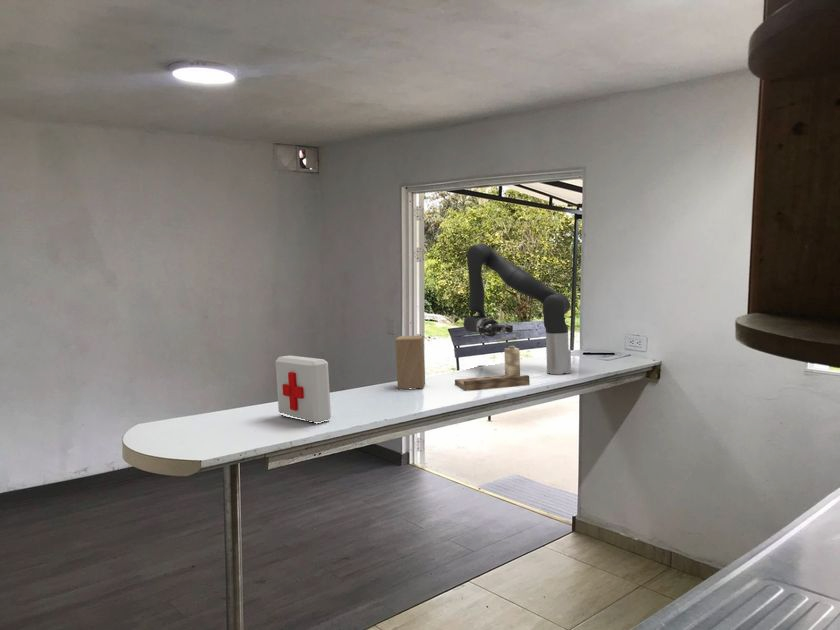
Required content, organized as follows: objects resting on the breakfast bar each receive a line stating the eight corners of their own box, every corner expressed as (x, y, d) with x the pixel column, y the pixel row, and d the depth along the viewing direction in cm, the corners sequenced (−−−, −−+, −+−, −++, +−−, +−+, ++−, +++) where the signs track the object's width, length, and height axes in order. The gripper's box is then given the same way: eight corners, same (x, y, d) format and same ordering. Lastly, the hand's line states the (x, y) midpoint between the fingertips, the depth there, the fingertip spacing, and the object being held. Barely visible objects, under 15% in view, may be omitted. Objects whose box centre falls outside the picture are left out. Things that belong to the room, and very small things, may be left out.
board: (516, 379, 269) (515, 370, 268) (529, 384, 255) (529, 375, 255) (454, 384, 263) (454, 375, 262) (465, 390, 249) (465, 381, 249)
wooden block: (425, 384, 266) (423, 335, 265) (423, 389, 256) (420, 338, 255) (400, 385, 267) (398, 336, 266) (397, 389, 257) (395, 339, 256)
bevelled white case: (274, 417, 219) (270, 357, 217) (294, 412, 225) (291, 354, 223) (312, 426, 204) (308, 362, 203) (333, 421, 210) (329, 359, 208)
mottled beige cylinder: (516, 377, 261) (514, 345, 260) (520, 379, 257) (519, 346, 256) (505, 378, 260) (504, 345, 259) (509, 380, 256) (508, 347, 255)
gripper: (471, 319, 282) (484, 322, 266) (502, 317, 285) (517, 320, 269) (472, 336, 282) (484, 341, 266) (503, 334, 286) (517, 338, 270)
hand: (500, 330), depth 268 cm, fingers open, 8 cm apart
